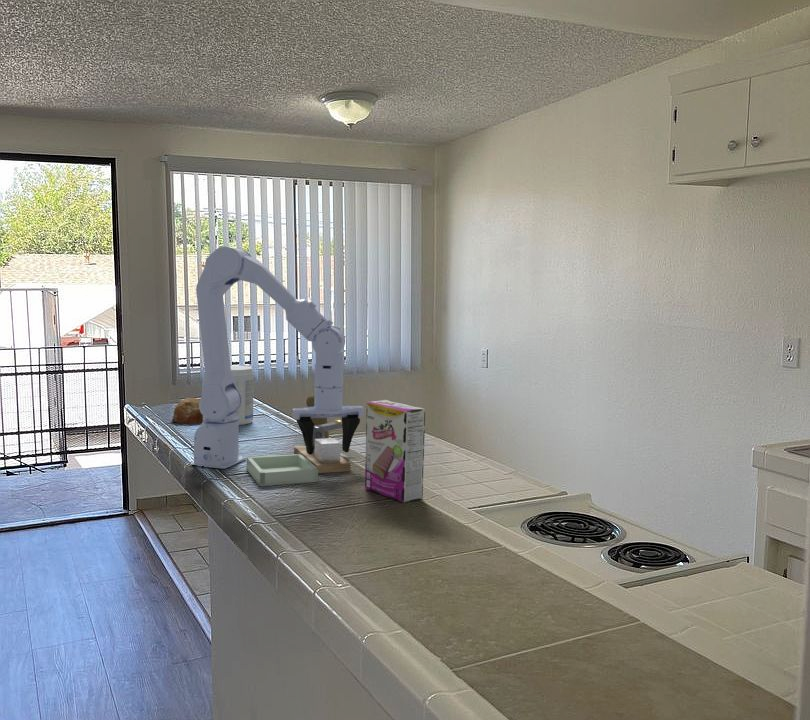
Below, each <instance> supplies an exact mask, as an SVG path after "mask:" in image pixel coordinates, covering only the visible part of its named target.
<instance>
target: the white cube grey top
mask: <svg viewBox="0 0 810 720" xmlns="http://www.w3.org/2000/svg"><path fill="white" fill-rule="evenodd" d="M341 448H342V442H341V441H338V439H336V438H334V437H329V438H325V439H315V455H314V457H315V458H316V459H317V460H319V461H320V462H321V463H324V462H339V461H340V456H341V454H342V453H341V452H342V451H341V450H342V449H341ZM341 457H342V456H341Z"/></svg>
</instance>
